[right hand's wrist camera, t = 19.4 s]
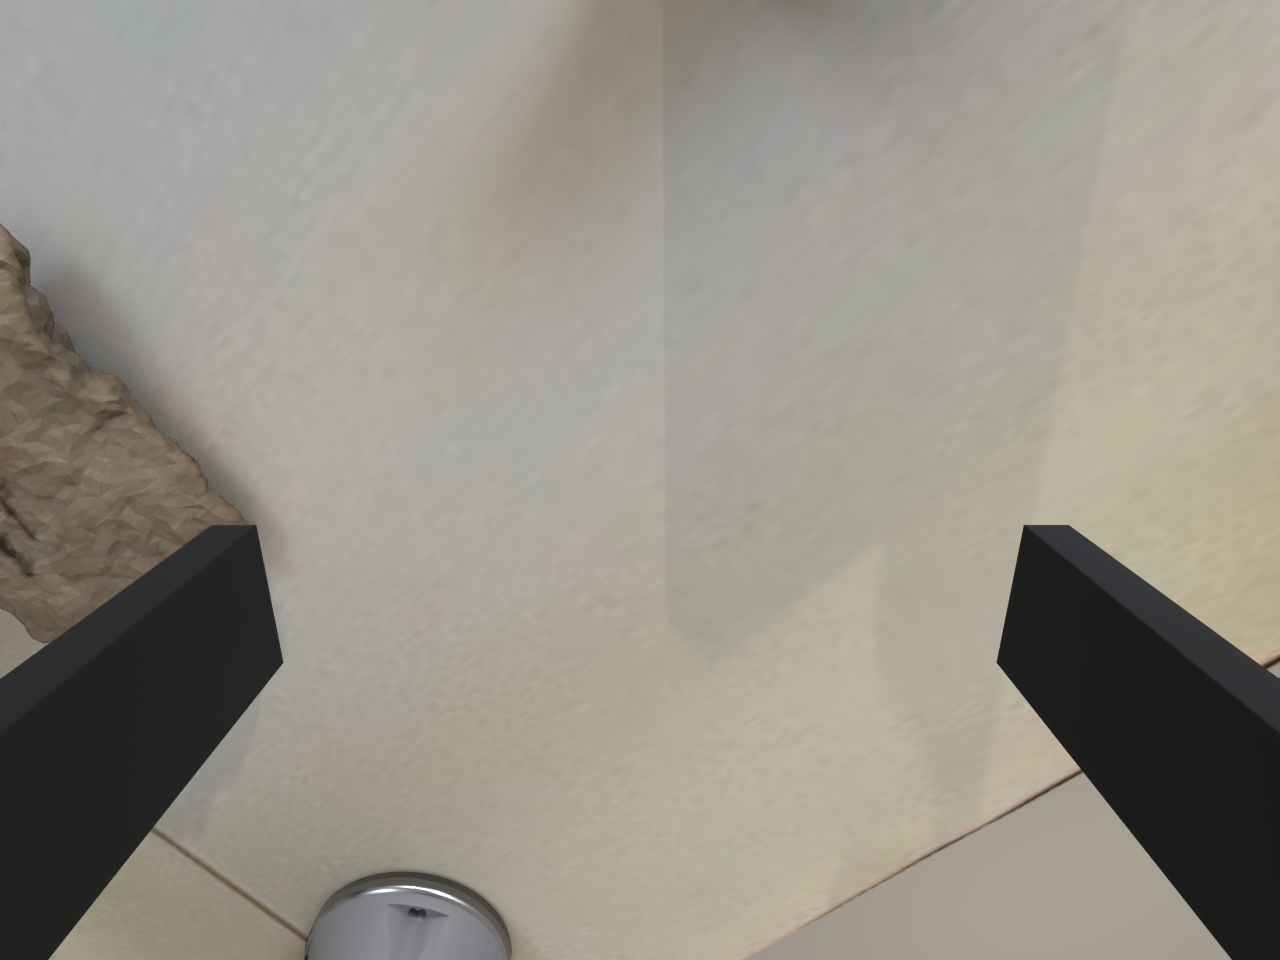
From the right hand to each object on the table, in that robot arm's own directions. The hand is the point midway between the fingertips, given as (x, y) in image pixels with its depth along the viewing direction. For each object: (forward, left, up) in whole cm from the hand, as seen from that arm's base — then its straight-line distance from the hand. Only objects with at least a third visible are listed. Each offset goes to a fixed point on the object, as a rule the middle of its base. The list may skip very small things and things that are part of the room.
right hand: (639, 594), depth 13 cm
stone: (-32, +11, -30) cm, 45 cm away
